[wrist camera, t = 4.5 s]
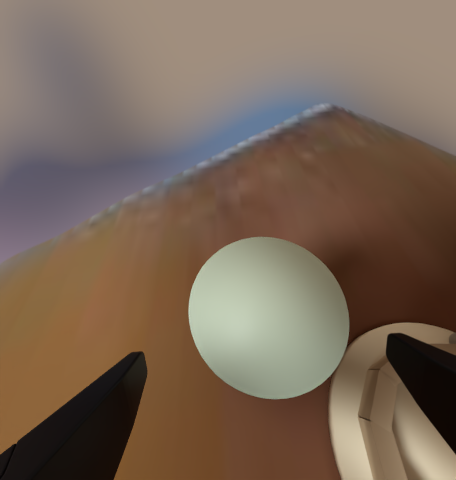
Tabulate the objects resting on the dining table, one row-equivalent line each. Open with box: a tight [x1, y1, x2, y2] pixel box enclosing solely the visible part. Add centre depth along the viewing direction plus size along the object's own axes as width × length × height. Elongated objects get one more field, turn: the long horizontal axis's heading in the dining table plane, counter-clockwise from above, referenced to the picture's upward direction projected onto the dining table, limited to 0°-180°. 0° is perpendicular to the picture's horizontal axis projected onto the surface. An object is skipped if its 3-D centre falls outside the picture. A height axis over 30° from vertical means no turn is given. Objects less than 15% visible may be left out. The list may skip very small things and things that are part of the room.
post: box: [189, 237, 349, 399], centre depth 11 cm, size 5×5×11 cm
